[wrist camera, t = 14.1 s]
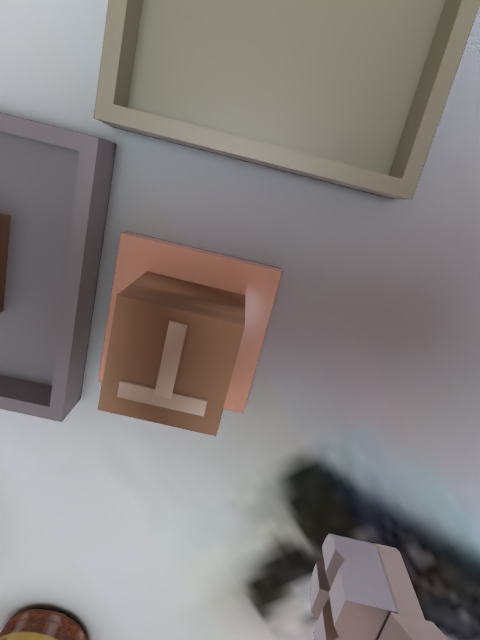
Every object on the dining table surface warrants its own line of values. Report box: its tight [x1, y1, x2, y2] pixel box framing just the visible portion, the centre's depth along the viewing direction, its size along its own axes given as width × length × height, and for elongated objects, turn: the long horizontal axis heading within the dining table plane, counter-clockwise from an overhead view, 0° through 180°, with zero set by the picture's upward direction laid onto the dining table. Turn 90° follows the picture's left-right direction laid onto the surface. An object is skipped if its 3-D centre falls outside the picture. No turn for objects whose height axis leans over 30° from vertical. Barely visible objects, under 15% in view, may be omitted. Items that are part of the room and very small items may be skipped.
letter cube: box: [98, 271, 245, 436], centre depth 19 cm, size 5×5×5 cm
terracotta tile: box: [98, 231, 282, 413], centre depth 22 cm, size 8×8×1 cm
